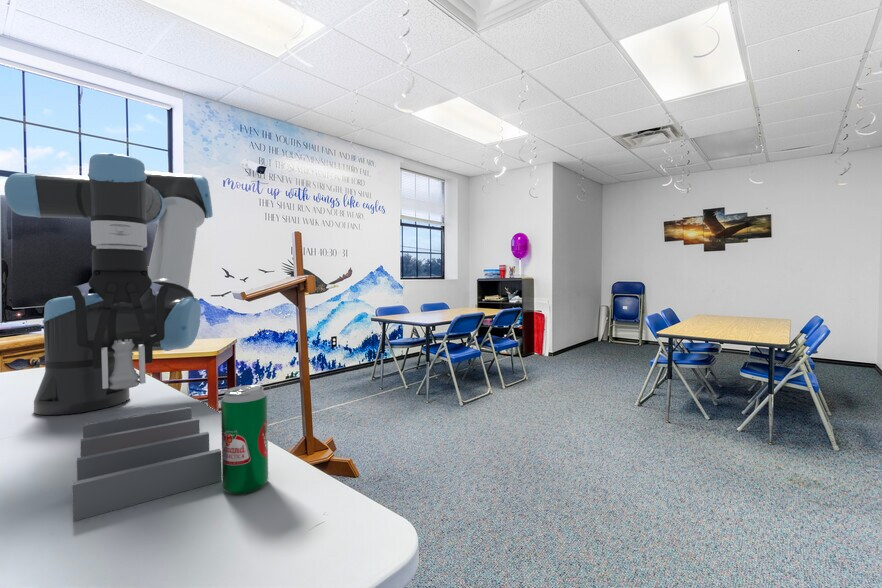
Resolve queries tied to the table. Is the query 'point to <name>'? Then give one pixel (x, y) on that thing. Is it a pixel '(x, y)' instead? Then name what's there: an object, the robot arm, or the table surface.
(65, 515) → the table surface
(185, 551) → the table surface
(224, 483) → the soda can
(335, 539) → the table surface
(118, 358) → the rook chess piece
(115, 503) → the stepped slat stand
